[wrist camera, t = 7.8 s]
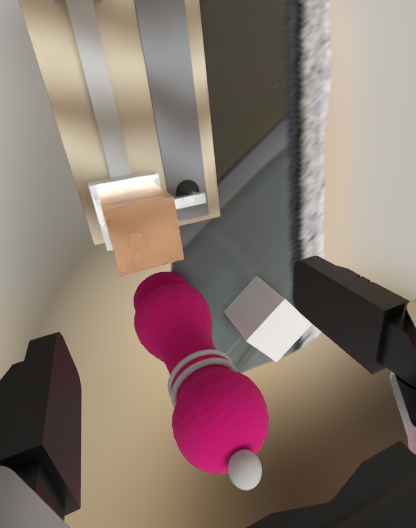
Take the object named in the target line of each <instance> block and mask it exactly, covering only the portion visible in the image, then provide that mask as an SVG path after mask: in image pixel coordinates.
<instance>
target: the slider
mask: <svg viewBox="0 0 416 528" xmlns="http://www.w3.org/2000/svg"><path fill="white" fill-rule="evenodd" d="M88 186H89V189H90V193H91V196H92V200H93V203H94V207H95V210H96V213H97V217H98V220H99V224H100V227H101V231H102V234H103V238H104V241H105V244H106V248H107V251H110V250H114V254H115V258H116V261H117V264H118V268H119V272H120V275H121V276H123V275H126V274H130V273H134V272H137V271H141V270H145V269H149V268H153V267H157V266H160V265H164V264H168V263H172V262H175V261H179V260H183V259H184V255H183V249H182V243H181V237H180V231H179V225H178V219H177V213H176V209H180V208H184V207H189V206H194V205H198V204H203V203H206V197H205V193H204V192H199V193H197V192H195V191H193V190H190V191H188V193H187V195H184V196H179V197H175V198H174V197H173V196H172V195H171V194H169V193H168V192H166V191H165V190H164V189H162V188H161V187H160V181H159V176H158V174H157V173H156V172H154V171H150V172H144V173H138V174H132V175H126V176H121V177H115V178H109V179H103V180H97V181H92V182H88Z"/></svg>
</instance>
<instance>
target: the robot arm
mask: <svg viewBox="0 0 416 528" xmlns="http://www.w3.org/2000/svg"><path fill="white" fill-rule="evenodd" d="M293 301H294V304H295V307H296V309H297V310H298V312H299V313H300V314H301V315H303V316H304V317H305V318H306V319H307V320H308V321H310V322H311V323H312V324H313V325H314V326H316V327H317V328H318V329H319V330H320V331H322V332H323V333H324V334H325V335H326V336H327V337H329V338H330V339H331V340H332V341H333V342H335V343H336V344H337V345H338V346H339V347H340V348H342V349H343V350H344V351H345V352H346V353H348V354H349V355H350V356H351V357H352V358H353V359H355V360H356V361H357V362H358V363H359V364H361V365H362V366H363V367H364V368H366V369H367V370H368V371H369V372H370V373H371V374H374V373H377V372H379V371H381V370H383V369H385V368H388V369H389V370H391V375H390V381H391V385H392V388H393V391H394V394H395V397H396V401H397V404H398V407H399V410H400V414H401V416H402V420H403V423H404V426H405V430H406V433H407V437H408V444H409V448H407V447H406V445H405V444H403V442H401V441H399V442H397V443H395V444H394V445H392V446H390V447H388V448H387V449H385V450H383V451H381V452H380V453H378V454H376V455H374V456H372V457H371V458H369V459H367V460H365V461H363V462H362V463H361V465H360V466H359V467H358V469H357V470H356V471H355V472H354V474H353V475H352V476H351V477H350V478H349V480H348V481H347V482H346V483H345V485H344V486H343V487H342V488H341V489H340V491H339V492H338V493H337V494H336V496H335V497H334V498H333V499H332V500H331V501H329V502H327V503H324V504H318V505H313V506H307V507H303V508H297V509H292V510H287V511H281V512H276V513H272V514H270V515H268V516H266V517H264V518H263V519H261V520H259V521H257V522H256V523H254V524H252V525H250V526H249V527H247V528H416V299H415V300H412V301H408V300H407V299H404V298H402V297H401V296H399V295H397V294H395V293H393V292H391V291H389V290H387V289H386V288H384V287H382V286H380V285H378V284H376V283H374V282H370V280H368V279H366V278H365V277H360V275H359V274H357V273H355V272H353V271H351V270H349V269H347V268H343V267H340V266H336V265H334V264H332V263H330V262H328V261H326V260H324V259H323V258H321V257H319V256H313V257H309V258H306V259H303V260H299V261H297V262H296V263H295V265H294V279H293ZM80 494H81V383H80V378H79V375H78V371H77V369H76V366H75V364H74V362H73V360H72V357H71V355H70V352H69V350H68V348H67V345H66V343H65V341H64V339H63V336H62V335H61V333H60V332H57V333H54V334H50V335H47V336H43V337H40V338H37V339H34V340H31V341H30V342H29V344H28V348H27V352H26V356H25V360H24V361H22V362H19V363H16V364H13V365H12V366H11V367H10V369H9V370H8V371H7V372H6V374H5V375H4V376H3V378H2V379H1V380H0V528H70V527H69V526H68V525H67V524H66V523H65V522H64V516H65V515H67V514H70V513H72V512H74V511H76V510H78V509H80V503H81V495H80Z"/></svg>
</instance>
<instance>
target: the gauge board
mask: <svg viewBox="0 0 416 528" xmlns="http://www.w3.org/2000/svg"><path fill="white" fill-rule="evenodd" d="M19 3H20V6H21V10H22V13H23V16H24V19H25V23H26V26H27V29H28V32H29V35H30V39H31V42H32V45H33V48H34V52H35V55H36V58H37V61H38V64H39V68H40V71H41V74H42V77H43V81H44V84H45V87H46V90H47V94H48V97H49V100H50V103H51V106H52V109H53V113H54V116H55V119H56V122H57V126H58V129H59V132H60V135H61V139H62V142H63V145H64V148H65V152H66V155H67V158H68V161H69V164H70V168H71V171H72V174H73V177H74V181H75V184H76V187H77V190H78V194H79V196H80V200H81V203H82V206H83V210H84V213H85V216H86V219H87V222H88V226H89V229H90V232H91V235H92V239H93V242H94V245H98V244H102V243H105V241H104V238H103V234H102V231H101V227H100V224H99V220H98V217H97V213H96V210H95V207H94V203H93V200H92V196H91V193H90V189H89V186H88V182H92V181H97V180H103V179H109V178H115V177H121V176H126V175H132V174H138V173H144V172H150V171H154V172H156V173H157V174H158V176H159V181H160V187H161V188H162V189H164V190H165V191H166V192H168V193H169V194H171V195H172V196H173V197H174V198H175V197H179V196H184V195H187V193H188V191H190V190H193V191H195V192H197V193H199V192H204V193H205V197H206V203H203V204H198V205H194V206H189V207H184V208H180V209H176V213H177V219H178V225H179V226H181V225H185V224H189V223H194V222H198V221H202V220H207V219H211V218H215V217H220V209H219V199H218V189H217V179H216V169H215V158H214V148H213V138H212V128H211V118H210V107H209V97H208V87H207V77H206V67H205V56H204V46H203V36H202V26H201V15H200V5H199V0H19Z"/></svg>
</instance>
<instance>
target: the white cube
mask: <svg viewBox="0 0 416 528" xmlns="http://www.w3.org/2000/svg"><path fill="white" fill-rule="evenodd" d="M224 313H225V314H226V316H227V317H228V318H229V319H230V321H231V322H232V323H233V325H234V326H235V327H236V328H237V330H238V331H239V332H240V334H241V335H242V336H243V337H244V339H245V340H246V341H247V342H249V343H250V344H251V345H253V346H254V347H256V348H257V349H259V350H260V351H261V352H263V353H264V354H266V355H267V356H268V357H270V358H271V359H273V360H274V361H276V362H277V361H278V360H279V359H280V358H281V357H282V356H283V355H284V354H285V353H286V352H287V350H288V349H289V348H290V347H291V346H292V345H293V344H294V343H295V342H296V341H297V340H298V339H299V338H300V336H301V335H302V334H303V333H304V332H305V331H306V330H307V329H308V328H309V327H310V326H311V325H312V324H311V323H310V322H309V321H308V320H307V319H306V318H305V317H304V316H303V315H301V314H300V313H299V312H298V311H297V310H296V309H295V308H294V307H293V306H292V305H291V304H290V303H289V302H288V301H287V300H286V299H285V298H283V297H282V296H281V295H280V294H279V293H277V292H276V291H275V290H274V289H272V288H271V287H270V286H269V285H268V284H266V283H265V282H264V281H263V280H262V279H260V278H259V277H258V276H257V275H256V276H255V277H254V279H253V280H252V281H251V282H250V283H249V284H248V285H247V286H246V287H245V288H244V290H243V291H242V292H241V293H240V294H239V295H238V296H237V297H236V298H235V300H234V301H233V302H232V303H231V304H230V305H229V306H228V307H227V308H226V309H225V311H224Z"/></svg>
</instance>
